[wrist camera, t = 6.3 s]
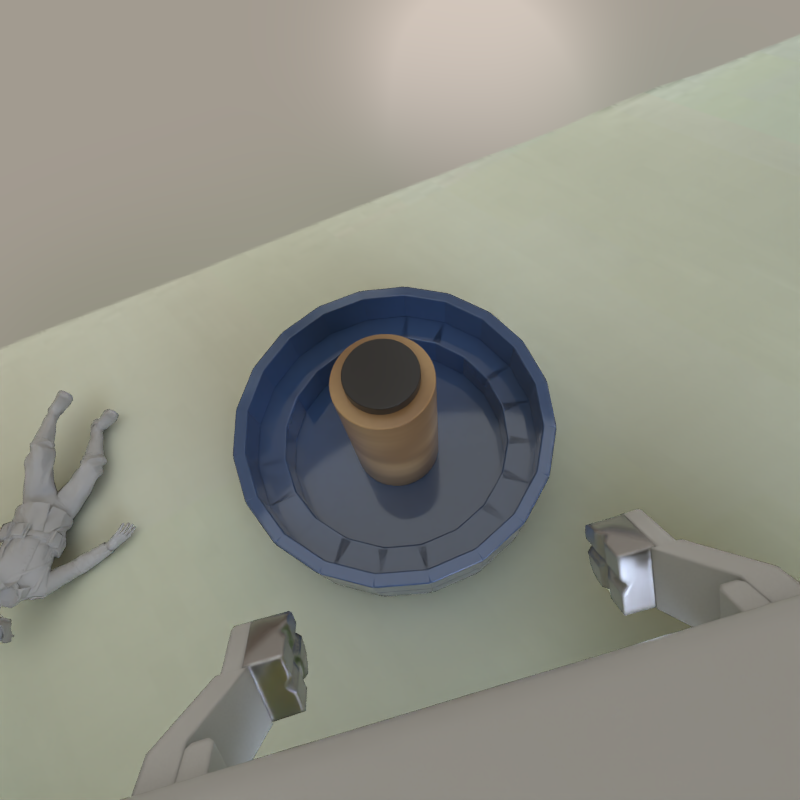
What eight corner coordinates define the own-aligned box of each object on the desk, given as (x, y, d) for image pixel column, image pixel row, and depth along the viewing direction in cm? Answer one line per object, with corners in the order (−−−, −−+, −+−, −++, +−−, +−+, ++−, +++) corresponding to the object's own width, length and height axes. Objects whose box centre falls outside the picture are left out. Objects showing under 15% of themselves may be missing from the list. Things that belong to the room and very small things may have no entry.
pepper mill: (402, 395, 30) (388, 307, 22) (455, 450, 28) (459, 375, 21) (341, 443, 29) (304, 369, 21) (392, 503, 27) (371, 446, 20)
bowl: (413, 290, 34) (409, 241, 30) (599, 461, 28) (625, 430, 24) (212, 438, 30) (177, 406, 26) (377, 666, 25) (364, 670, 21)
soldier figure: (170, 429, 32) (104, 634, 24) (139, 468, 34) (69, 665, 26) (27, 372, 28) (-112, 592, 20) (4, 420, 31) (-128, 633, 22)
